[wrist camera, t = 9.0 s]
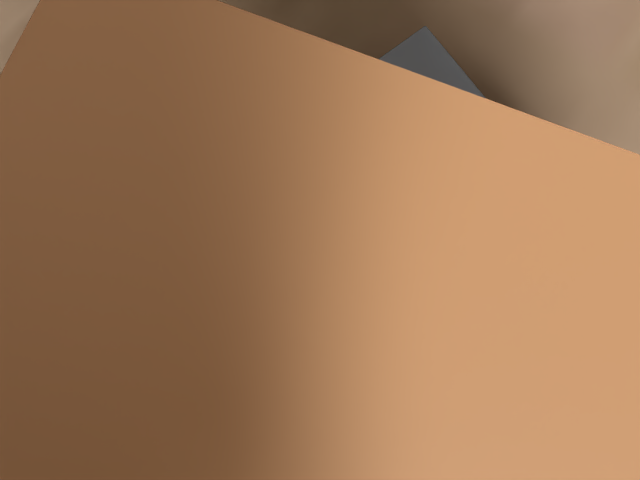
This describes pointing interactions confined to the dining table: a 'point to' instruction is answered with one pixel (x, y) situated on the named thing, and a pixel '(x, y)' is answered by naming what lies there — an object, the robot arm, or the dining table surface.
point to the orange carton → (300, 263)
